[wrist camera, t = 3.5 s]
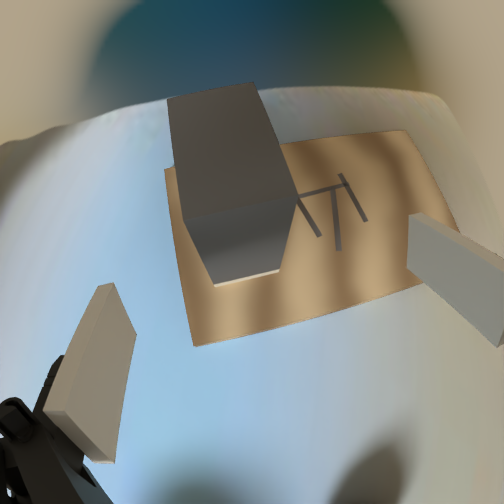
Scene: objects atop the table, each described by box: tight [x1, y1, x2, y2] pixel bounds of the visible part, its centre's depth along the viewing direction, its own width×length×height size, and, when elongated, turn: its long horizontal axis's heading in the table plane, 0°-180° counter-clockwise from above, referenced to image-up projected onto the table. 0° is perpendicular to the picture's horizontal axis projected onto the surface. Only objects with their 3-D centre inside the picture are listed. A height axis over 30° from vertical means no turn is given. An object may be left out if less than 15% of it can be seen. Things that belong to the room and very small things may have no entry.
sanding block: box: [167, 82, 299, 287], centre depth 20 cm, size 8×5×11 cm, turn 14°
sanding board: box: [164, 130, 460, 347], centre depth 26 cm, size 26×16×1 cm, turn 104°
